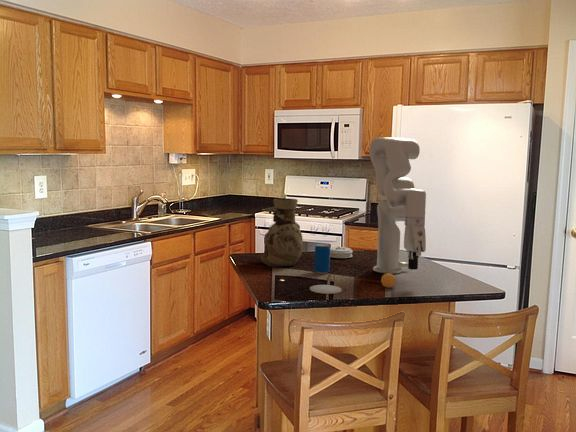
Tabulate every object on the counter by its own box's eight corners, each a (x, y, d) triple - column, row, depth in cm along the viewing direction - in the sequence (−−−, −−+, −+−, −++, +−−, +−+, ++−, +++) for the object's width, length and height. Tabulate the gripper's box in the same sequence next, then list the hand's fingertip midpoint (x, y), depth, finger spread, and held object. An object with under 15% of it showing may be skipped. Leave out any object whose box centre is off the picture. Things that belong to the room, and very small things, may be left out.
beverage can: (328, 274, 217) (329, 246, 216) (313, 273, 218) (314, 245, 217) (330, 271, 223) (331, 244, 222) (315, 270, 225) (316, 243, 223)
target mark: (336, 284, 200) (336, 284, 200) (345, 293, 189) (345, 292, 189) (306, 285, 198) (306, 285, 198) (314, 294, 186) (314, 293, 186)
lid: (339, 253, 264) (339, 244, 264) (357, 258, 255) (358, 248, 254) (321, 256, 256) (321, 246, 256) (340, 261, 247) (340, 250, 246)
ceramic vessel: (255, 268, 226) (256, 200, 222) (264, 258, 246) (266, 196, 243) (298, 270, 223) (300, 202, 219) (304, 261, 244) (306, 197, 240)
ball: (391, 285, 202) (392, 271, 201) (397, 289, 196) (398, 274, 196) (378, 285, 201) (379, 271, 200) (384, 289, 195) (384, 275, 195)
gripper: (433, 223, 191) (431, 272, 192) (415, 220, 205) (413, 265, 207) (414, 223, 189) (412, 273, 191) (397, 220, 204) (395, 265, 205)
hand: (412, 269), depth 199 cm, fingers closed
